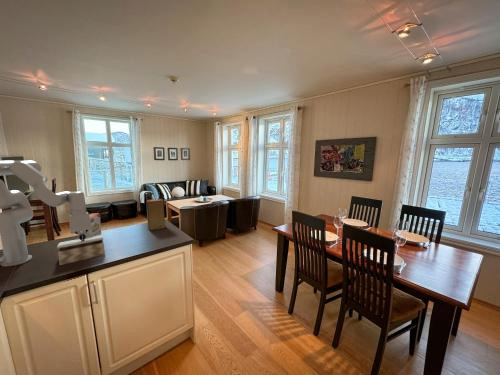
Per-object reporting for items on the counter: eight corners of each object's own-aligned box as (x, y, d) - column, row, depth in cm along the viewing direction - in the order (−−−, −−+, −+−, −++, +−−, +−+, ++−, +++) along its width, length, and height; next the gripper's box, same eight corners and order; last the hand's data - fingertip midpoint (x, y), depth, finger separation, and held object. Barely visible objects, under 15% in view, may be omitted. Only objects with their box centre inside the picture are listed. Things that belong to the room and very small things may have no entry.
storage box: (59, 265, 125) (57, 252, 124) (60, 256, 136) (59, 244, 135) (104, 254, 139) (103, 243, 137) (102, 247, 149) (101, 236, 148)
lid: (57, 248, 124) (57, 246, 124) (59, 244, 135) (59, 242, 135) (103, 239, 137) (103, 237, 137) (101, 236, 148) (101, 234, 148)
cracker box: (91, 247, 149) (88, 218, 146) (82, 247, 148) (79, 218, 145) (102, 239, 163) (100, 212, 160) (94, 239, 162) (91, 213, 159)
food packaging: (163, 224, 198) (162, 198, 194) (165, 228, 190) (164, 200, 186) (147, 227, 191) (145, 199, 187) (148, 230, 183) (147, 201, 179)
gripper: (62, 215, 123) (67, 245, 126) (94, 210, 132) (98, 239, 135) (62, 212, 129) (67, 241, 132) (93, 208, 138) (97, 235, 141)
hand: (83, 240), depth 133 cm, fingers closed
